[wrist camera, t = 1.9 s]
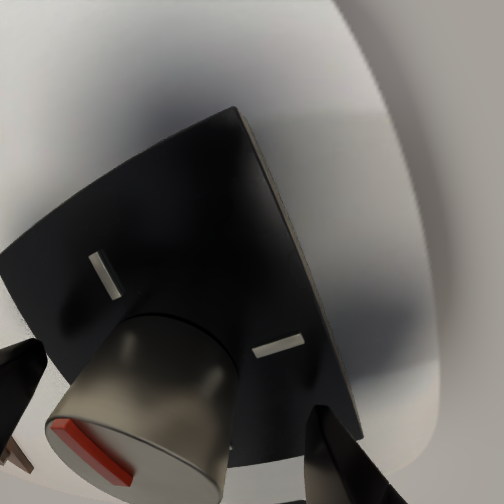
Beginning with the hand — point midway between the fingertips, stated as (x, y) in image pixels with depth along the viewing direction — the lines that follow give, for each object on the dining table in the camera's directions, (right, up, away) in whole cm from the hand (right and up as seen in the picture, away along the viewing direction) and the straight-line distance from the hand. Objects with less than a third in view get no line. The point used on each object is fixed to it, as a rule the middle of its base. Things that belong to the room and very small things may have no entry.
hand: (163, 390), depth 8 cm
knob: (0, 0, +1) cm, 1 cm away
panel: (0, +1, +4) cm, 4 cm away
